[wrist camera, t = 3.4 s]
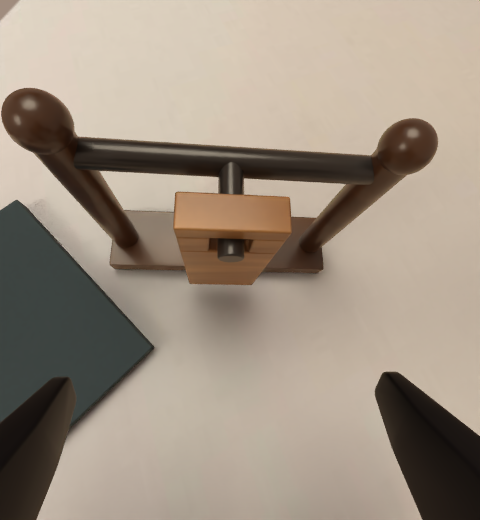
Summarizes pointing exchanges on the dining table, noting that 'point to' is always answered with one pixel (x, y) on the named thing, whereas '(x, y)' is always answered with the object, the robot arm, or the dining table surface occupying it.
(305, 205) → the dining table surface
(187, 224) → the oak block with hole
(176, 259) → the rail stand
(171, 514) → the dining table surface
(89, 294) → the rubber mat
